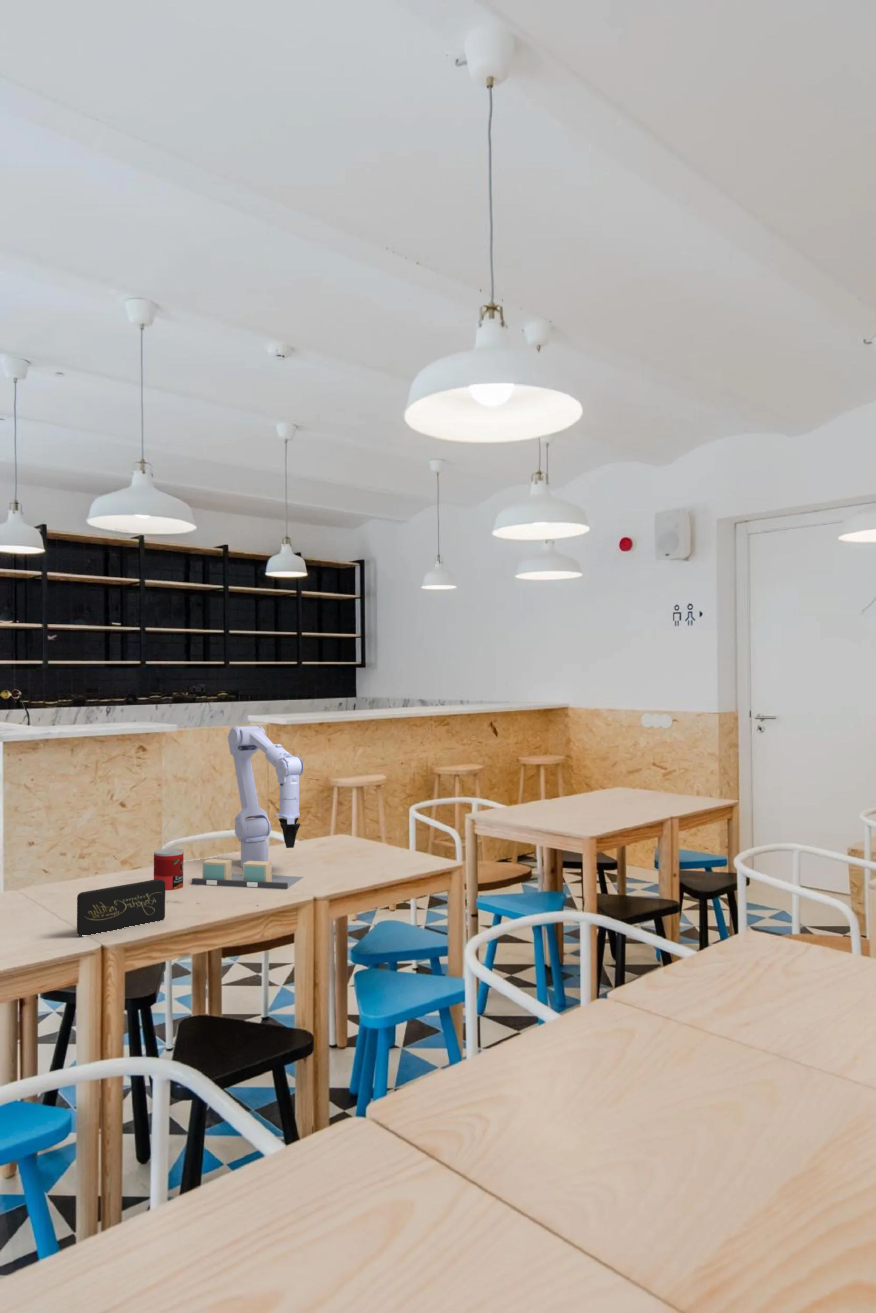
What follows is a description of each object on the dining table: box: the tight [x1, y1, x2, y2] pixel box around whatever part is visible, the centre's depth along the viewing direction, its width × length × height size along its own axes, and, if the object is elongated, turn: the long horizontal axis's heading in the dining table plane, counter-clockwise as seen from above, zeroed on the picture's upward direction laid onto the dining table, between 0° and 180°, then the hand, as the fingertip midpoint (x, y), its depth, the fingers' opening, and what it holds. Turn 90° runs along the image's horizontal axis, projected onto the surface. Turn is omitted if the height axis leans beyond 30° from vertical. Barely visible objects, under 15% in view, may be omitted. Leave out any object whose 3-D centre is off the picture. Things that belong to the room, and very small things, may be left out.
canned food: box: [153, 847, 185, 892], centre depth 247 cm, size 8×8×11 cm
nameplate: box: [76, 879, 166, 937], centre depth 212 cm, size 21×2×10 cm, turn 134°
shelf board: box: [191, 872, 304, 891], centre depth 255 cm, size 15×28×2 cm, turn 80°
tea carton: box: [242, 861, 273, 882], centre depth 251 cm, size 7×4×6 cm, turn 78°
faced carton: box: [201, 858, 233, 880], centre depth 253 cm, size 7×4×6 cm, turn 80°
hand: (289, 845), depth 259 cm, fingers open, 7 cm apart
